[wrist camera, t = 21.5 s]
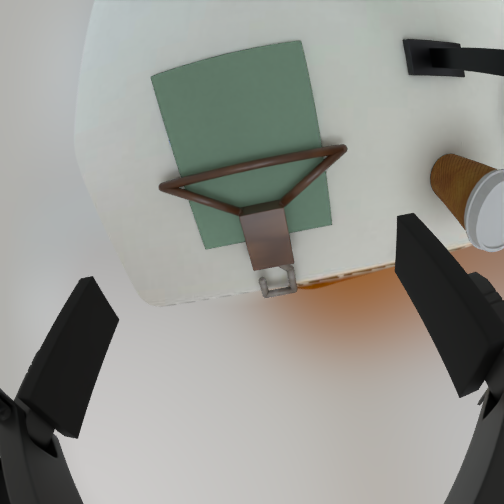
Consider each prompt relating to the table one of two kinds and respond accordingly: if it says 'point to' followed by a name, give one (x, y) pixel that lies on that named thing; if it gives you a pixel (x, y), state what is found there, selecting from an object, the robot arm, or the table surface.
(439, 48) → the black and grey stand
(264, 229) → the hanger
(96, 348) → the robot arm
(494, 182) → the disposable coffee cup
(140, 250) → the table surface
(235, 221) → the mat
